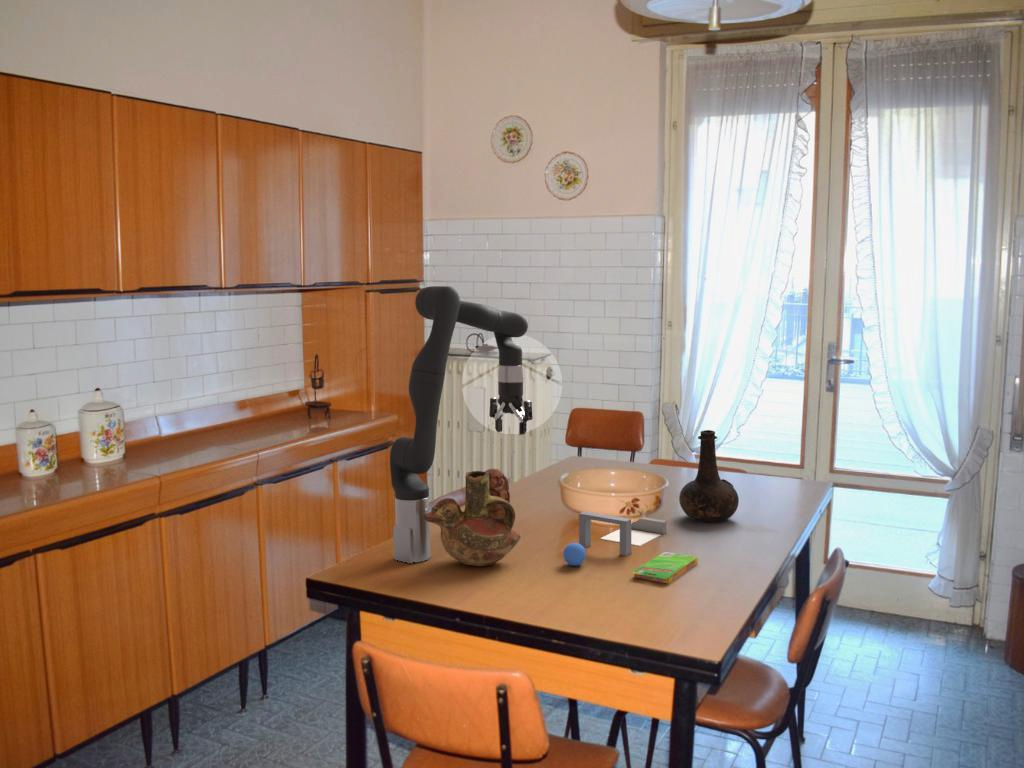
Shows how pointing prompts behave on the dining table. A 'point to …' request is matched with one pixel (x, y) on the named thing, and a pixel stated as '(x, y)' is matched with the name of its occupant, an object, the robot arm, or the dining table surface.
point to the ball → (574, 554)
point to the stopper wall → (650, 525)
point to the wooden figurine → (498, 491)
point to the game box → (666, 567)
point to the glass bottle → (708, 488)
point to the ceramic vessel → (475, 524)
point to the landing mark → (632, 537)
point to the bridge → (623, 522)
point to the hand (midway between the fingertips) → (510, 433)
